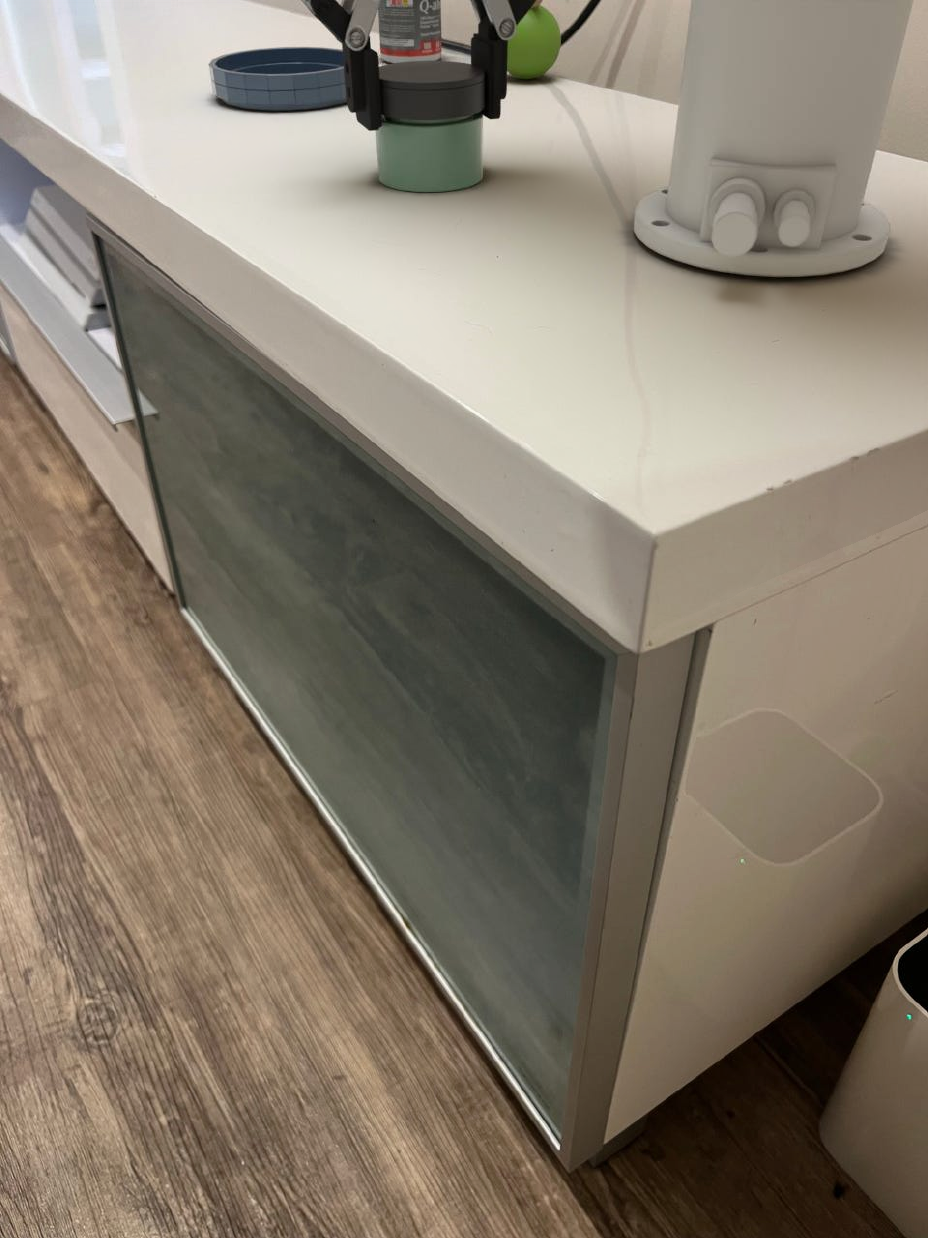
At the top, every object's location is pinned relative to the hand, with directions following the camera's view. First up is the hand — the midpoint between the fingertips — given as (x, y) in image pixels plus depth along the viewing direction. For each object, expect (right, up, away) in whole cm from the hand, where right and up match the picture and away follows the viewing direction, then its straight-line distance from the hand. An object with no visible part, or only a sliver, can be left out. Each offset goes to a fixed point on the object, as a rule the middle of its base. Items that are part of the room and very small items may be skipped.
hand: (428, 116), depth 56 cm
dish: (-12, +13, +20) cm, 27 cm away
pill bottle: (-3, +22, +32) cm, 39 cm away
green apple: (+7, +17, +25) cm, 31 cm away
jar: (0, -3, +2) cm, 3 cm away
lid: (0, +2, -1) cm, 2 cm away
